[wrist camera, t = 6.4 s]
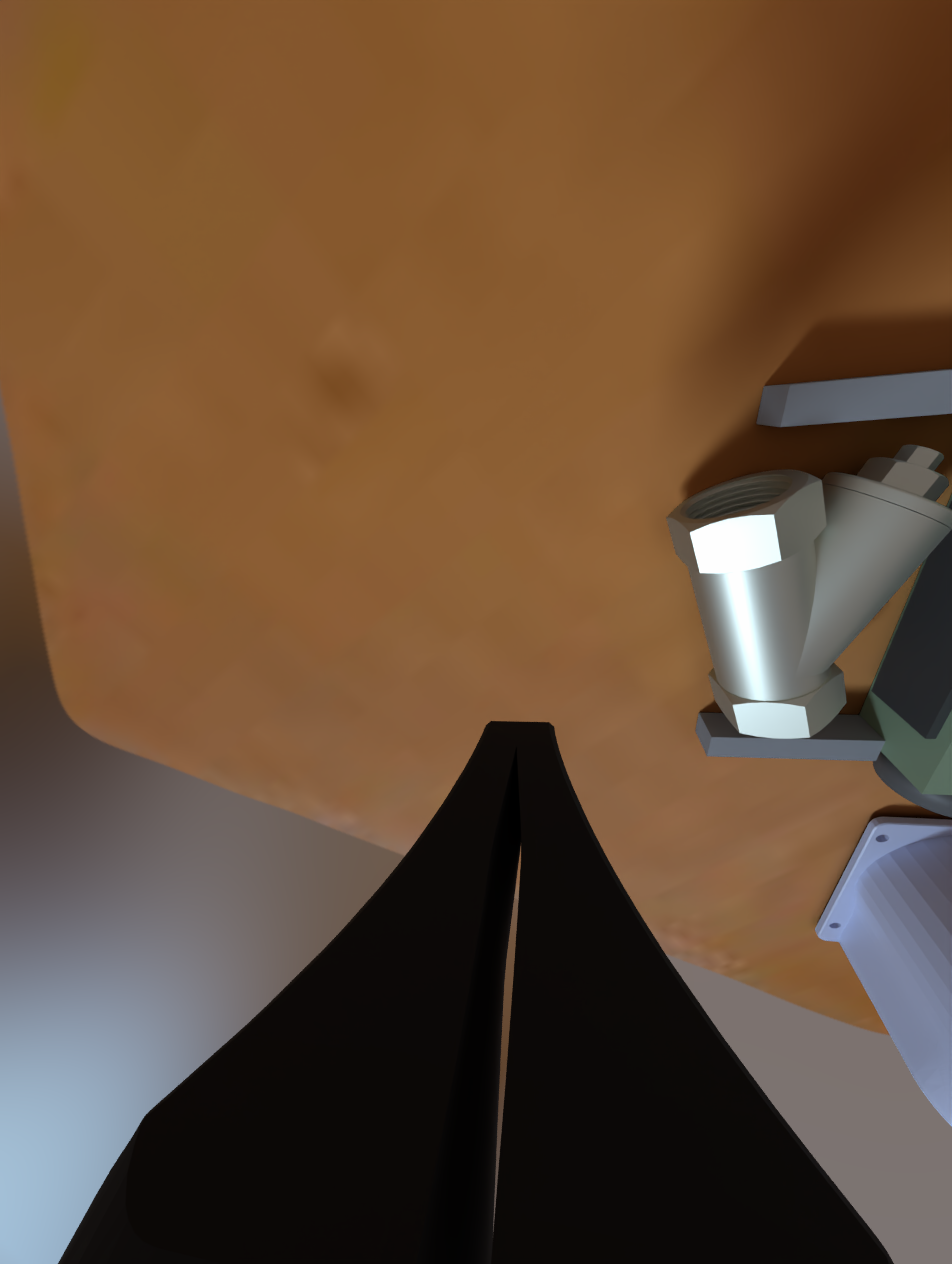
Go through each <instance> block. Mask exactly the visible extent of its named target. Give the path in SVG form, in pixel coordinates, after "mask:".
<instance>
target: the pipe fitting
mask: <svg viewBox="0 0 952 1264" xmlns="http://www.w3.org/2000/svg"><path fill="white" fill-rule="evenodd" d="M943 459H944V456H943V454H942V453H940V452H938V451H935V450H933V449H930V448H926V447H922V446H918V445H903V446H902V447H901V449H900V450H899V451H898V453H897V454H896V455H895V457H894V458H893V459H892V458H886V457H875V458H869V459H868V460H867V462H866V463H865V464H864V466H863V467H862V469H861V470H860V471H859V473H858V474H857V475H856V476H855V475H850V474H845V473H838V472H830V473H827V474H826V475H825V477H824V478H823V479H822V480H821V479H819V478H817V477H815V476H813V475H811V474H809V473H806V472H803V471H799V470H788V469H786V470H772V471H765V472H760V473H755V474H750V475H746V476H742V477H738V478H735V479H732V480H728V481H725V482H723V483H720V484H717V485H714V486H712V487H710V488H707V489H705V490H703V491H701V492H699V493H697V494H695V495H693V496H691V497H689V498H688V499H686V500H685V501H683V502H682V503H681V504H680V505H678V506H677V507H676V508H675V509H674V510H673V511H672V512H671V513H670V514H669V515H668V516H667V517H666V519H667V522H668V526H669V530H670V534H671V537H672V541H673V545H674V549H675V552H676V555H677V556H678V557H679V558H680V559H681V560H682V562H683V563H685V564H686V565H687V566H688V569H689V573H690V577H691V581H692V585H693V589H694V593H695V597H696V600H697V604H698V608H699V612H700V616H701V620H702V624H703V628H704V631H705V635H706V639H707V643H708V647H709V651H710V654H711V658H712V662H713V666H714V668H713V669H712V670H711V671H710V672H709V674H708V676H709V679H710V683H711V687H712V691H713V694H714V698H715V701H716V702H717V704H718V706H719V707H720V709H721V710H722V712H723V713H724V715H725V716H726V717H727V719H728V720H729V721H730V723H731V724H732V725H733V726H734V727H735V729H736V730H737V731H738V732H739V733H742V734H747V735H752V736H757V737H765V738H777V739H796V738H809V737H811V736H813V735H815V734H816V733H818V732H819V731H820V730H822V729H823V728H824V727H825V726H826V725H828V724H829V723H830V722H831V721H832V720H833V718H834V717H835V716H836V715H837V714H838V713H839V712H840V711H841V709H842V708H843V707H844V705H845V704H846V703H847V702H846V693H845V684H844V675H843V671H842V670H841V669H840V668H839V667H838V666H837V665H836V664H835V663H833V662H834V661H835V660H836V659H837V658H838V657H839V656H840V654H841V653H842V652H843V651H844V650H845V649H846V648H847V647H848V645H849V644H850V643H851V642H852V641H853V640H854V639H855V638H856V636H857V635H858V634H859V633H860V632H861V631H862V630H863V629H864V627H865V626H866V625H867V624H868V623H869V622H870V621H871V620H872V618H873V617H874V616H875V615H876V614H877V613H878V612H879V611H880V609H881V608H882V607H883V606H884V605H885V604H886V603H887V602H888V600H889V599H890V598H891V597H892V596H893V595H894V594H895V593H896V591H897V590H898V589H899V588H900V587H901V586H902V585H903V584H904V582H905V581H906V580H907V579H908V578H909V577H910V576H911V575H912V573H913V572H914V571H915V570H916V569H917V568H918V567H919V566H920V564H921V563H922V562H923V561H924V560H925V559H926V558H927V557H928V555H929V554H930V553H931V552H932V551H933V550H934V549H935V548H936V546H937V545H938V544H939V543H940V542H941V541H942V540H943V539H944V537H945V536H946V535H947V534H948V533H949V532H950V531H951V530H952V509H950V508H948V507H946V506H944V505H941V504H939V503H937V502H935V501H936V500H937V499H938V498H939V496H940V495H941V494H942V493H943V492H944V490H945V489H946V488H947V487H948V486H949V482H948V479H947V478H946V477H945V476H943V475H942V474H940V473H938V472H935V471H934V470H935V469H936V468H937V467H938V465H939V464H940V463H941V462H942V461H943Z"/></svg>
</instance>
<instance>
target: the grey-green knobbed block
mask: <svg viewBox="0 0 952 1264" xmlns="http://www.w3.org/2000/svg"><path fill="white" fill-rule="evenodd" d="M940 414H952V369H942V370H931V371H920V372H910V373H899V374H888V375H878V376H867V377H856V378H845V379H835V380H824V381H813V382H803V383H792V384H781V385H771V386H764V388H763V393H762V398H761V403H760V408H759V413H758V418H757V423H756V424H759V425H767V426H775V427H789V426H802V425H814V424H827V423H839V422H852V421H864V420H877V419H889V418H902V417H914V416H927V415H940ZM947 507H948V508H950V509H952V495H951V497H950V500H949V502H948V504H947ZM696 733H697V735H698V738H699V740H700V742H701V744H702V746H703V748H704V750H705V753H706V755H707V756H717V757H753V758H788V759H823V760H859V761H873V766H874V769H875V771H876V773H877V775H878V776H879V777H880V778H881V780H882V781H883V782H884V783H885V784H886V785H888V786H889V787H890V788H891V789H892V790H894V791H895V792H896V793H898V794H899V795H901V796H902V797H904V798H905V799H907V800H909V801H911V802H913V803H915V804H917V805H919V806H921V807H923V808H925V809H928V810H930V811H933V812H935V813H938V814H941V815H944V816H948V817H951V818H952V530H951V531H950V532H949V533H948V534H947V535H946V536H945V537H944V539H943V540H942V541H941V542H940V543H939V544H938V545H937V546H936V548H935V549H934V550H933V551H932V552H931V553H930V554H929V555H928V557H927V558H926V559H925V560H924V562H923V564H922V566H921V569H920V571H919V574H918V576H917V578H916V581H915V583H914V586H913V588H912V590H911V593H910V595H909V597H908V600H907V602H906V605H905V607H904V609H903V612H902V614H901V616H900V619H899V621H898V624H897V626H896V628H895V631H894V633H893V636H892V638H891V640H890V643H889V645H888V647H887V650H886V652H885V655H884V657H883V659H882V662H881V664H880V667H879V669H878V671H877V674H876V676H875V678H874V681H873V683H872V686H871V688H870V690H869V693H868V695H867V698H866V700H865V702H864V705H863V707H862V709H861V712H860V714H859V715H836V716H835V717H834V718H833V720H832V721H831V722H830V723H829V724H828V725H826V726H825V727H824V728H823V729H822V730H820V731H819V732H818V733H816V734H815V735H813V736H811V737H809V738H796V739H777V738H765V737H757V736H752V735H747V734H742V733H739V732H738V731H737V730H736V729H735V727H734V726H733V725H732V724H731V723H730V721H729V720H728V719H727V717H726V716H725V715H724V713H699V715H698V721H697V726H696Z"/></svg>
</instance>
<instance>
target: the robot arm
mask: <svg viewBox="0 0 952 1264" xmlns="http://www.w3.org/2000/svg"><path fill="white" fill-rule="evenodd" d="M520 846H521V870H520V886H519V903H518V919H517V934H516V948H515V963H514V977H513V992H512V1005H511V1018H510V1031H509V1045H508V1060H507V1072H506V1085H505V1097H504V1109H503V1122H502V1134H501V1146H500V1158H499V1171H498V1183H497V1197H496V1208H495V1220H494V1232H493V1217H494V1193H495V1169H496V1145H497V1122H498V1100H499V1079H500V1078H499V1077H500V1056H501V1035H502V1016H503V996H504V979H505V969H506V958H507V949H508V941H509V933H510V926H511V925H510V924H511V918H512V910H513V902H514V894H515V886H516V878H517V870H518V862H519V855H520ZM815 931H816V933H817V935H818V937H819V938H820V939H822V940H826V941H836V942H839V943H840V945H841V946H842V948H843V950H844V952H845V954H846V956H847V957H848V959H849V961H850V963H851V965H852V967H853V968H854V970H855V972H856V974H857V976H858V977H859V979H860V981H861V983H862V985H863V987H864V988H865V990H866V992H867V994H868V996H869V997H870V999H871V1001H872V1003H873V1005H874V1007H875V1008H876V1010H877V1012H878V1014H879V1016H880V1018H881V1019H882V1021H883V1023H884V1025H885V1027H886V1028H887V1030H888V1032H889V1034H890V1036H891V1038H892V1039H893V1041H894V1043H895V1045H896V1047H897V1048H898V1050H899V1052H900V1054H901V1056H902V1058H903V1059H904V1061H905V1063H906V1065H907V1067H908V1068H909V1070H910V1072H911V1074H912V1076H913V1077H914V1079H915V1081H916V1082H917V1084H918V1085H919V1087H920V1088H921V1090H922V1092H923V1093H924V1094H925V1096H926V1097H927V1098H928V1100H929V1101H930V1102H931V1104H932V1105H933V1106H934V1107H935V1109H936V1110H937V1111H938V1112H939V1113H940V1115H941V1116H942V1117H943V1118H944V1119H945V1120H946V1121H947V1122H948V1123H949V1124H950V1125H951V1126H952V820H948V819H926V818H904V817H877V818H874V819H873V820H871V821H870V822H869V824H868V826H867V828H866V830H865V832H864V834H863V836H862V838H861V840H860V842H859V843H858V845H857V847H856V849H855V851H854V853H853V855H852V857H851V859H850V861H849V863H848V865H847V867H846V869H845V871H844V873H843V875H842V877H841V879H840V881H839V883H838V885H837V887H836V889H835V891H834V893H833V895H832V897H831V899H830V901H829V902H828V904H827V906H826V908H825V910H824V912H823V914H822V916H821V918H820V920H819V922H818V924H817V926H816V928H815ZM58 1264H894V1263H893V1261H892V1259H891V1258H890V1256H889V1254H888V1252H887V1251H886V1249H885V1248H884V1246H883V1245H882V1244H881V1242H880V1241H879V1239H878V1238H877V1237H876V1235H875V1234H874V1233H873V1232H872V1230H871V1229H870V1228H869V1226H868V1225H867V1224H866V1223H865V1221H864V1220H863V1219H862V1218H861V1216H860V1215H859V1214H858V1213H857V1211H856V1210H855V1209H854V1207H853V1206H852V1205H851V1204H850V1202H849V1201H848V1200H847V1199H846V1197H845V1196H844V1195H843V1194H842V1192H841V1191H840V1190H839V1189H838V1187H837V1186H836V1185H835V1184H834V1182H833V1181H832V1180H831V1179H830V1177H829V1176H828V1175H827V1174H826V1172H825V1171H824V1170H823V1169H822V1167H821V1166H820V1165H819V1163H818V1162H817V1161H816V1160H815V1158H814V1157H813V1156H812V1154H811V1153H810V1152H809V1151H808V1149H807V1148H806V1147H805V1145H804V1144H803V1143H802V1142H801V1140H800V1139H799V1138H798V1136H797V1135H796V1134H795V1132H794V1131H793V1130H792V1128H791V1127H790V1126H789V1125H788V1123H787V1122H786V1121H785V1119H784V1118H783V1117H782V1116H781V1115H780V1113H779V1112H778V1110H777V1109H776V1108H775V1107H774V1105H773V1104H772V1103H771V1101H770V1100H769V1099H768V1097H767V1096H766V1095H765V1093H764V1092H763V1090H762V1089H761V1088H760V1086H759V1085H758V1084H757V1082H756V1081H755V1080H754V1078H753V1077H752V1076H751V1074H750V1073H749V1072H748V1070H747V1069H746V1068H745V1066H744V1065H743V1064H742V1062H741V1061H740V1060H739V1058H738V1057H737V1055H736V1054H735V1053H734V1051H733V1050H732V1049H731V1048H730V1046H729V1045H728V1043H727V1042H726V1041H725V1039H724V1038H723V1037H722V1035H721V1034H720V1032H719V1031H718V1029H717V1028H716V1026H715V1025H714V1024H713V1022H712V1021H711V1019H710V1018H709V1016H708V1015H707V1014H706V1012H705V1011H704V1009H703V1008H702V1006H701V1005H700V1003H699V1002H698V1001H697V999H696V998H695V996H694V995H693V993H692V992H691V991H690V989H689V988H688V986H687V985H686V983H685V982H684V981H683V979H682V977H681V976H680V975H679V973H678V972H677V970H676V969H675V968H674V966H673V965H672V963H671V962H670V960H669V959H668V957H667V956H666V954H665V953H664V951H663V950H662V948H661V947H660V945H659V943H658V942H657V940H656V939H655V937H654V936H653V934H652V932H651V931H650V929H649V928H648V926H647V925H646V923H645V921H644V920H643V918H642V917H641V915H640V914H639V912H638V910H637V909H636V907H635V905H634V904H633V902H632V900H631V899H630V897H629V895H628V894H627V892H626V890H625V889H624V887H623V885H622V884H621V882H620V880H619V878H618V876H617V875H616V873H615V871H614V869H613V868H612V866H611V864H610V862H609V860H608V859H607V857H606V855H605V853H604V851H603V849H602V847H601V845H600V843H599V841H598V839H597V838H596V836H595V834H594V832H593V830H592V828H591V826H590V824H589V822H588V820H587V817H586V815H585V813H584V811H583V809H582V807H581V804H580V802H579V800H578V798H577V795H576V793H575V791H574V789H573V786H572V784H571V781H570V779H569V777H568V774H567V771H566V769H565V766H564V763H563V760H562V757H561V754H560V751H559V748H558V744H557V740H556V736H555V730H554V726H552V725H551V724H550V723H549V722H507V721H491V722H489V723H488V724H487V725H486V727H485V729H484V731H483V734H482V736H481V738H480V740H479V742H478V744H477V746H476V748H475V750H474V752H473V754H472V756H471V757H470V759H469V761H468V763H467V765H466V766H465V768H464V770H463V772H462V773H461V775H460V777H459V778H458V780H457V781H456V783H455V785H454V786H453V788H452V790H451V791H450V793H449V794H448V796H447V798H446V799H445V801H444V802H443V804H442V805H441V807H440V808H439V810H438V811H437V813H436V814H435V815H434V817H433V818H432V820H431V821H430V823H429V824H428V825H427V827H426V828H425V830H424V831H423V833H422V834H421V836H420V837H419V838H418V840H417V841H416V842H415V844H414V845H413V846H412V848H411V849H410V850H409V852H408V853H407V854H406V856H405V857H404V858H403V859H402V861H401V862H400V863H399V864H398V866H397V867H396V868H395V869H394V871H393V872H392V873H391V874H390V876H389V877H388V878H387V879H386V880H385V882H384V883H383V884H382V885H381V887H380V888H379V889H378V890H377V891H376V892H375V893H374V895H373V896H372V897H371V898H370V899H369V900H368V901H367V903H366V904H365V905H364V906H363V907H362V908H361V909H360V910H359V912H358V913H357V914H356V915H355V916H354V917H353V919H351V921H350V922H349V923H348V924H347V925H346V926H345V927H344V928H343V929H342V931H341V932H340V933H339V934H338V935H337V936H336V937H335V938H334V939H333V940H332V941H331V942H330V943H329V944H328V945H327V947H325V949H324V950H323V951H322V952H321V953H320V954H319V955H318V956H316V958H314V959H313V960H312V961H311V962H310V964H308V965H307V966H306V967H305V968H304V969H303V971H301V972H300V973H299V974H298V975H297V976H296V977H295V978H294V979H293V980H292V982H290V983H289V984H288V985H287V986H286V987H285V988H284V989H283V990H282V991H281V992H280V993H279V994H278V995H277V996H276V997H275V998H274V999H273V1000H272V1001H271V1002H270V1003H269V1004H268V1005H267V1006H266V1007H265V1008H264V1009H263V1010H262V1011H261V1012H260V1013H259V1014H257V1015H256V1017H254V1018H253V1019H252V1020H251V1021H250V1022H249V1023H248V1024H247V1025H246V1026H245V1027H244V1028H242V1029H241V1030H240V1031H239V1032H238V1033H237V1034H236V1035H235V1036H233V1038H231V1039H230V1040H229V1041H228V1042H227V1043H226V1044H225V1045H223V1046H222V1047H221V1048H220V1049H219V1050H218V1051H217V1052H215V1053H214V1054H213V1055H212V1056H211V1057H210V1058H209V1059H208V1060H206V1061H205V1062H204V1063H203V1064H202V1065H201V1066H200V1067H199V1068H198V1069H196V1070H195V1071H194V1072H193V1073H192V1074H191V1075H190V1076H189V1077H188V1078H186V1079H185V1080H184V1081H183V1082H182V1083H181V1084H180V1085H178V1086H177V1087H176V1088H175V1089H174V1090H173V1091H172V1092H171V1093H170V1094H168V1095H167V1096H166V1097H165V1098H164V1099H163V1100H161V1101H160V1102H159V1103H158V1104H157V1105H156V1106H155V1107H154V1108H153V1109H152V1110H150V1111H149V1112H148V1114H146V1116H145V1117H144V1118H143V1120H142V1121H141V1123H140V1125H139V1127H138V1128H137V1130H136V1132H135V1133H134V1135H133V1137H132V1138H131V1140H130V1141H129V1143H128V1144H127V1146H126V1148H125V1149H124V1150H123V1152H122V1153H121V1155H120V1156H119V1158H118V1159H117V1161H116V1163H115V1164H114V1166H113V1167H112V1169H111V1170H110V1172H109V1174H108V1176H107V1177H106V1179H105V1181H104V1183H103V1184H102V1186H101V1188H100V1189H99V1191H98V1193H97V1194H96V1196H95V1198H94V1200H93V1202H92V1204H91V1205H90V1207H89V1209H88V1211H87V1213H86V1214H85V1216H84V1218H83V1220H82V1222H81V1223H80V1225H79V1227H78V1229H77V1230H76V1232H75V1234H74V1236H73V1238H72V1239H71V1241H70V1243H69V1245H68V1247H67V1249H66V1250H65V1252H64V1254H63V1256H62V1257H61V1259H60V1261H59V1263H58Z"/></svg>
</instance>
